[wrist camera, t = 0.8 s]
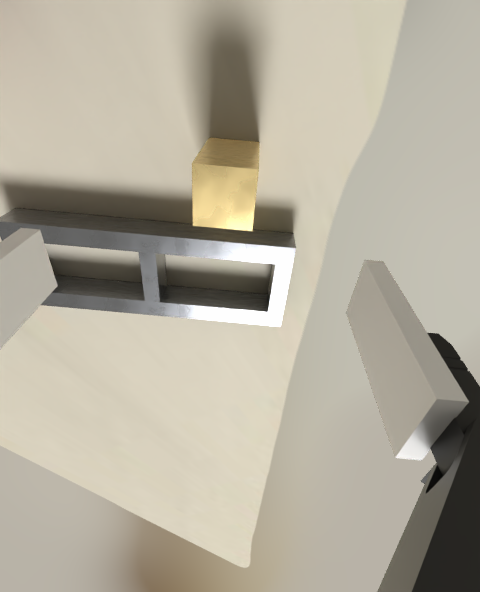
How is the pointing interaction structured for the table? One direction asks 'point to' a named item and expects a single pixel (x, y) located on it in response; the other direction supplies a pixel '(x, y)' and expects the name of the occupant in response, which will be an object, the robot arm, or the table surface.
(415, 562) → the robot arm
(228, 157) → the brushed brass bar
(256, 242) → the rack frame
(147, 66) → the table surface
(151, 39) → the table surface
